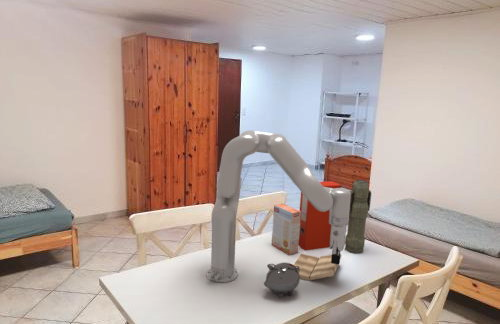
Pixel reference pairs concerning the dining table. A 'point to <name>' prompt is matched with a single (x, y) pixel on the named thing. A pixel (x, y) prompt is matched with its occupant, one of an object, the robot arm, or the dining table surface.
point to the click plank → (324, 268)
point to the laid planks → (306, 265)
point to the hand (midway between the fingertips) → (335, 263)
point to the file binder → (314, 223)
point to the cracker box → (286, 228)
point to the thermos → (358, 216)
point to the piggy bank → (282, 278)
